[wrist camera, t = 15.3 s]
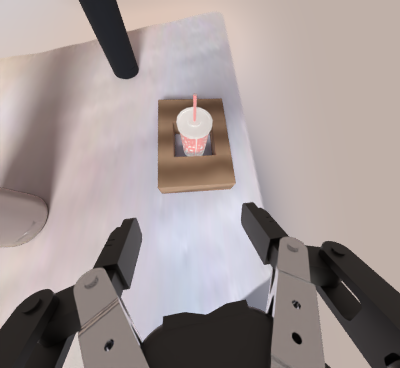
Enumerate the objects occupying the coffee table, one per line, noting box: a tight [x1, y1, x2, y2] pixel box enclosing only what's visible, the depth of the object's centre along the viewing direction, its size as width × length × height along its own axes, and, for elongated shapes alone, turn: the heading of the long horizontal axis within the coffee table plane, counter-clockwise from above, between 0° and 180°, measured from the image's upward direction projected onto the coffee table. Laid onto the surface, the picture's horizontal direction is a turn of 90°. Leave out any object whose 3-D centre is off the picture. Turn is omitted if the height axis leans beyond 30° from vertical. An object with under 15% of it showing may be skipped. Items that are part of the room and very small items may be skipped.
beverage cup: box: [176, 93, 213, 156], centre depth 27 cm, size 6×6×14 cm
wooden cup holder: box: [158, 99, 236, 194], centre depth 32 cm, size 20×14×4 cm
